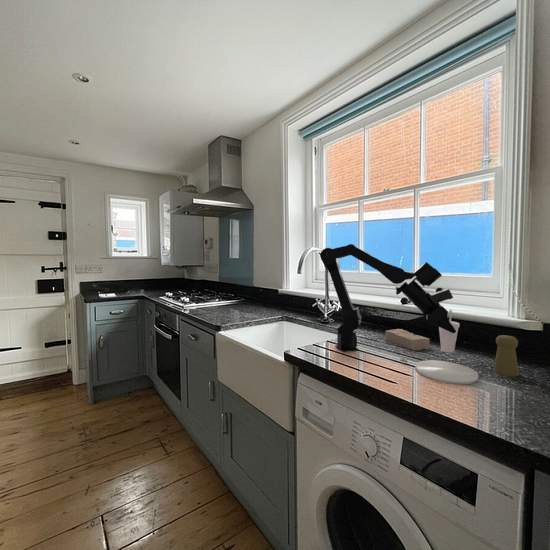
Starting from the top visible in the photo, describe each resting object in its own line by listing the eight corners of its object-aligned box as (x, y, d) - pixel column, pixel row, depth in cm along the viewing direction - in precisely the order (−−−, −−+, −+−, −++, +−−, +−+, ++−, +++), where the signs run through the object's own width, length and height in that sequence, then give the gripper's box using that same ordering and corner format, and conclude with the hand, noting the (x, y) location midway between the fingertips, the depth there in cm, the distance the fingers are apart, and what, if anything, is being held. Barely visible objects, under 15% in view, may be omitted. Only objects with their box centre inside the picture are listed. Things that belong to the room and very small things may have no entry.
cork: (488, 369, 90) (489, 333, 90) (506, 368, 91) (507, 333, 90) (505, 376, 84) (506, 338, 84) (524, 376, 85) (525, 338, 84)
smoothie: (451, 354, 95) (452, 311, 94) (432, 349, 100) (433, 308, 100) (462, 352, 98) (464, 310, 97) (444, 347, 103) (445, 307, 103)
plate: (445, 386, 77) (445, 382, 77) (403, 366, 92) (403, 362, 92) (492, 380, 81) (492, 376, 81) (445, 362, 96) (445, 358, 96)
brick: (431, 349, 112) (431, 337, 112) (413, 351, 109) (413, 339, 109) (400, 339, 128) (400, 328, 127) (384, 340, 125) (384, 329, 125)
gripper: (441, 281, 91) (481, 319, 87) (433, 278, 108) (467, 310, 105) (412, 305, 94) (450, 342, 90) (409, 298, 111) (441, 330, 108)
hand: (453, 330), depth 98 cm, fingers closed on smoothie, 6 cm apart
